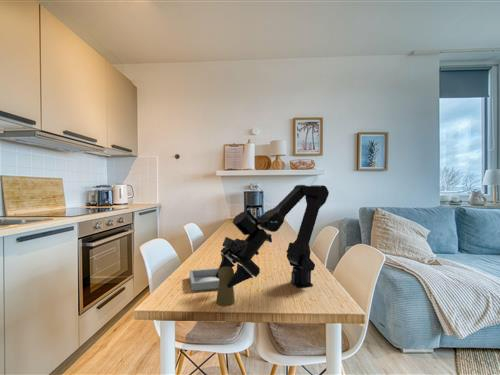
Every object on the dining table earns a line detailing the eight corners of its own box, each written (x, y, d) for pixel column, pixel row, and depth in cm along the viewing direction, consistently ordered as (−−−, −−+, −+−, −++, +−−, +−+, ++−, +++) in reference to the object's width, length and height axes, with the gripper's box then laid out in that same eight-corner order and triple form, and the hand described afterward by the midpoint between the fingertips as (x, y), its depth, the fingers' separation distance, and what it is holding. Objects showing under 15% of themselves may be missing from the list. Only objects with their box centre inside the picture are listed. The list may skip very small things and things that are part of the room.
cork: (225, 295, 84) (226, 263, 84) (238, 301, 80) (239, 267, 80) (212, 302, 79) (212, 267, 79) (225, 308, 75) (226, 272, 75)
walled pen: (223, 274, 104) (223, 267, 104) (231, 288, 90) (231, 279, 90) (189, 277, 100) (189, 270, 100) (191, 292, 86) (191, 283, 86)
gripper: (226, 224, 90) (195, 258, 84) (251, 233, 73) (216, 276, 68) (244, 243, 93) (217, 278, 88) (273, 256, 77) (241, 299, 72)
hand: (221, 281), depth 79 cm, fingers open, 9 cm apart
